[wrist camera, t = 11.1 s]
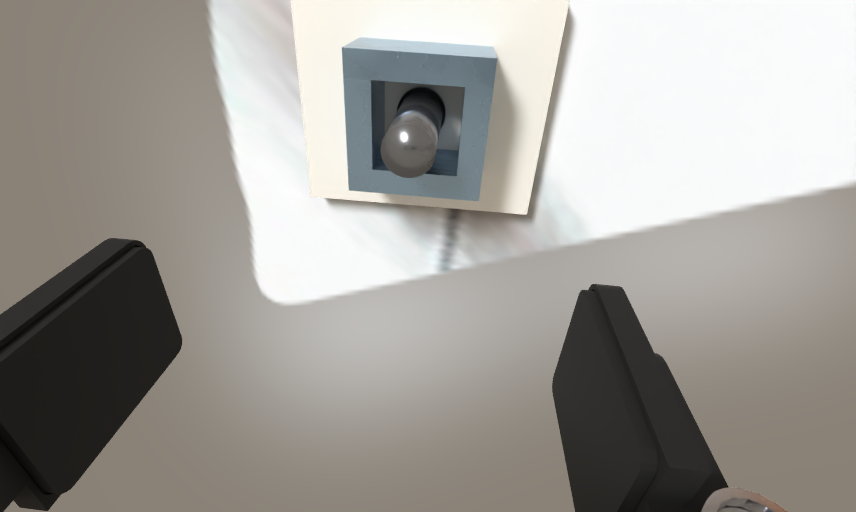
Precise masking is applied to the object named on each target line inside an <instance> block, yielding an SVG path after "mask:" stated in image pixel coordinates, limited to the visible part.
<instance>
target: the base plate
mask: <svg viewBox="0 0 856 512" xmlns="http://www.w3.org/2000/svg"><path fill="white" fill-rule="evenodd" d="M569 2H570V0H291V9H292V19H293V28H294V38H295V48H296V57H297V67H298V77H299V87H300V96H301V106H302V116H303V126H304V135H305V145H306V155H307V164H308V174H309V184H310V194H311V197H320V198H332V199H344V200H356V201H368V202H380V203H392V204H404V205H416V206H428V207H440V208H452V209H464V210H476V211H488V212H500V213H512V214H524V215H527V211H528V206H529V201H530V196H531V191H532V186H533V181H534V176H535V171H536V166H537V161H538V156H539V151H540V146H541V141H542V136H543V131H544V126H545V121H546V116H547V111H548V106H549V101H550V96H551V91H552V86H553V81H554V76H555V71H556V66H557V61H558V56H559V51H560V46H561V41H562V36H563V31H564V27H565V22H566V17H567V12H568V7H569ZM360 37H364V38H378V39H392V40H407V41H421V42H435V43H449V44H463V45H478V46H492V47H493V48H494V50H495V53H496V56H497V58H498V59H497V66H496V74H495V82H494V89H493V97H492V105H491V112H490V120H489V127H488V135H487V143H486V150H485V158H484V166H483V173H482V181H481V189H480V196H479V201H468V200H456V199H444V198H432V197H420V196H408V195H396V194H384V193H372V192H360V191H349V185H348V165H347V145H346V125H345V104H344V84H343V64H342V47H343V46H345V45H347V44H349V43H351V42H352V41H354V40H356V39H358V38H360ZM415 87H427V88H430V89H432V90H434V91H436V92H437V93H438V94H439V95H440V96H441V98H442V100H443V102H444V104H445V109H446V114H445V120H444V123H443V126H442V127H441V129H440V133H439V139H438V144H437V149H444V150H456V151H458V146H459V136H460V125H461V115H462V104H463V94H464V87H458V86H444V85H431V84H417V83H404V82H390V81H385V134H386V132H387V130H388V128H389V126H390V124H391V123H392V121H393V119H394V117H395V115H396V113H397V107H398V104H399V102H400V100H401V98H402V96H403V95H404V94H405V93H406V92H407V91H409V90H410V89H412V88H415Z"/></svg>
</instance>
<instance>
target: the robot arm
mask: <svg viewBox="0 0 856 512" xmlns="http://www.w3.org/2000/svg"><path fill="white" fill-rule="evenodd" d="M181 346H182V337H181V334H180V331H179V328H178V325H177V322H176V319H175V316H174V314H173V311H172V308H171V305H170V302H169V299H168V296H167V294H166V291H165V288H164V285H163V283H162V279H161V276H160V274H159V271H158V268H157V265H156V262H155V259H154V256H153V254H152V252H151V251H150V250H149V249H148V248H146V246H145V245H144V244H143V243H142V242H140V241H137V240H128V239H117V238H110V239H107V240H105V241H103V242H102V243H101V244H99V245H98V246H96V247H95V248H94V249H92V250H91V251H89V252H88V253H87V254H85V255H84V256H82V257H81V258H80V259H78V260H77V261H75V262H74V263H72V264H71V265H70V266H68V267H67V268H65V269H64V270H63V271H61V272H60V273H58V274H57V275H56V276H54V277H53V278H51V279H50V280H49V281H47V282H46V283H44V284H43V285H41V286H40V287H39V288H37V289H36V290H34V291H33V292H32V293H30V294H29V295H27V296H26V297H24V298H23V299H22V300H21V301H19V302H17V303H16V304H15V305H13V306H12V307H10V308H9V309H8V310H6V311H5V312H3V313H2V314H1V315H0V512H4V510H5V509H6V508H7V507H8V506H9V505H10V503H11V502H12V501H13V500H14V501H15V502H16V504H17V505H18V506H19V507H21V508H29V509H36V510H44V511H48V510H49V509H50V507H51V506H52V505H53V504H54V502H55V501H56V500H57V499H58V497H59V496H60V495H61V494H62V493H65V492H67V491H68V490H70V489H71V488H72V487H73V486H74V485H75V484H76V482H77V481H78V480H79V478H80V477H81V476H82V475H83V473H84V472H85V471H86V470H87V468H88V467H89V466H90V465H91V463H92V462H93V461H94V460H95V458H96V457H97V456H98V455H99V453H100V452H101V451H102V449H103V448H104V447H105V446H106V444H107V443H108V442H109V441H110V439H111V438H112V437H113V435H114V434H115V433H116V432H117V430H118V429H119V428H120V427H121V425H122V424H123V423H124V422H125V420H126V419H127V417H129V415H130V414H131V413H132V411H133V410H134V409H135V408H136V406H137V405H138V404H139V403H140V401H141V400H142V399H143V397H144V396H145V395H146V394H147V392H148V391H149V390H150V389H151V387H152V386H153V385H154V383H155V382H156V381H157V380H158V379H159V377H160V376H161V375H162V373H163V372H164V371H165V370H166V368H167V367H168V366H169V365H170V363H171V362H172V361H173V359H174V358H175V357H176V355H177V354H178V353H179V351H180V349H181ZM552 389H553V397H554V402H555V408H556V413H557V418H558V423H559V428H560V434H561V439H562V444H563V450H564V454H565V460H566V465H567V471H568V476H569V481H570V487H571V492H572V497H573V502H574V507H575V512H787V511H786V510H784V509H783V508H782V507H780V506H779V505H778V504H776V503H775V502H773V501H771V500H769V499H767V498H765V497H764V496H762V495H760V494H758V493H755V492H752V491H748V490H745V489H741V488H729V487H728V485H727V483H726V481H725V479H724V477H723V475H722V473H721V471H720V469H719V467H718V465H717V463H716V461H715V460H714V457H713V455H712V453H711V451H710V449H709V447H708V445H707V443H706V441H705V439H704V437H703V436H702V433H701V431H700V430H699V427H698V425H697V423H696V421H695V419H694V418H693V415H692V413H691V411H690V409H689V408H688V405H687V403H686V401H685V399H684V398H683V396H682V393H681V391H680V389H679V387H678V385H677V384H676V381H675V379H674V377H673V375H672V373H671V371H670V369H669V367H668V366H667V363H666V362H665V360H664V359H663V358H662V357H661V356H660V355H658V354H655V353H654V352H653V350H652V347H651V345H650V343H649V341H648V339H647V337H646V335H645V333H644V331H643V329H642V327H641V325H640V323H639V320H638V319H637V316H636V314H635V312H634V310H633V308H632V306H631V304H630V302H629V300H628V298H627V296H626V294H625V291H624V290H623V289H622V287H620V286H609V285H599V284H592V285H591V287H590V288H589V290H582V291H581V292H580V293H579V296H578V299H577V302H576V306H575V309H574V312H573V315H572V319H571V322H570V325H569V328H568V332H567V335H566V338H565V342H564V345H563V348H562V351H561V354H560V357H559V361H558V364H557V367H556V370H555V373H554V377H553V385H552Z"/></svg>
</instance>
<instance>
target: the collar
mask: <svg viewBox="0 0 856 512" xmlns="http://www.w3.org/2000/svg"><path fill="white" fill-rule="evenodd" d="M497 59H498V58H497V56H496V53H495V50H494V48H493V47H492V46H478V45H463V44H449V43H435V42H421V41H407V40H392V39H378V38H364V37H360V38H358V39H356V40H354V41H352V42H351V43H349V44H347V45H345V46H343V47H342V64H343V84H344V104H345V125H346V145H347V165H348V185H349V191H360V192H372V193H384V194H396V195H408V196H420V197H432V198H444V199H456V200H468V201H479V196H480V189H481V181H482V173H483V166H484V158H485V150H486V143H487V135H488V127H489V120H490V112H491V105H492V97H493V89H494V82H495V74H496V66H497ZM385 81H390V82H404V83H417V84H431V85H444V86H458V87H464V94H463V104H462V115H461V125H460V136H459V146H458V151H456V150H444V149H437V150H436V155H435V160H434V163H433V165H432V166H431V168H430V169H429V170H428V171H427V172H426V173H425V174H423V175H421V176H419V177H415V178H404V177H400V176H397V175H396V174H394V173H392V172H391V171H390V170H389V169H388V168H387V167H386V165H385V164H384V162H383V160H382V157H381V151H380V149H381V143H382V140H383V138H384V136H385Z"/></svg>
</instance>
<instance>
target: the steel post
mask: <svg viewBox="0 0 856 512" xmlns="http://www.w3.org/2000/svg"><path fill="white" fill-rule="evenodd" d="M445 114H446V109H445V104H444V102H443V100H442V98H441V96H440V95H439V94H438V93H437V92H436V91H434V90H432V89H430V88H427V87H415V88H412V89H410V90H409V91H407V92H406V93H405V94H404V95H403V96H402V98H401V100H400V102H399V104H398V107H397V113H396V115H395V117H394V119H393V121H392V123H391V124H390V126H389V128H388V130H387V132H386V134H385V136H384V138H383V140H382V143H381V149H380V151H381V157H382V160H383V162H384V164H385V165H386V167H387V168H388V169H389V170H390V171H391V172H392V173H394V174H396V175H397V176H400V177H404V178H415V177H419V176H421V175H423V174H425V173H426V172H427V171H428V170H429V169H430V168H431V166H432V165H433V163H434V160H435V155H436V150H437V144H438V139H439V133H440V129H441V127H442V126H443V123H444V120H445Z"/></svg>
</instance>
